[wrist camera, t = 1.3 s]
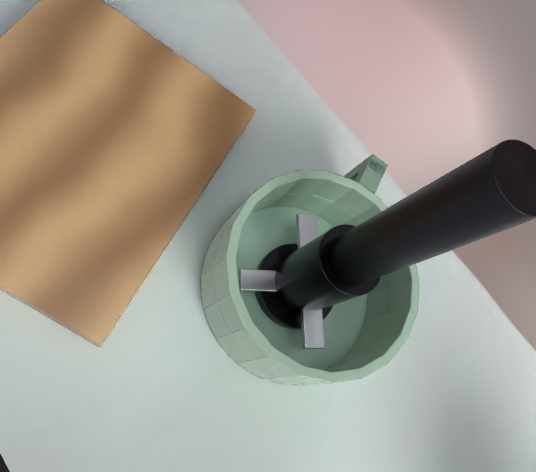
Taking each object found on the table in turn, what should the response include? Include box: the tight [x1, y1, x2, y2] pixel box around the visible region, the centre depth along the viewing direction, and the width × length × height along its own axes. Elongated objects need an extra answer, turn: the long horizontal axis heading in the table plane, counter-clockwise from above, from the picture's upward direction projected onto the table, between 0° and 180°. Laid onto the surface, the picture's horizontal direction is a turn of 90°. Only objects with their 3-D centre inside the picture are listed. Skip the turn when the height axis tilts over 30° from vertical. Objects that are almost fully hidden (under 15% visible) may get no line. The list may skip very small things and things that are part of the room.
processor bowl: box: [201, 170, 419, 385], centre depth 34 cm, size 13×13×6 cm
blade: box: [239, 140, 536, 349], centre depth 27 cm, size 9×9×20 cm
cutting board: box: [0, 0, 256, 346], centre depth 33 cm, size 16×20×2 cm
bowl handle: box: [344, 154, 387, 194], centre depth 37 cm, size 1×3×5 cm, turn 152°
